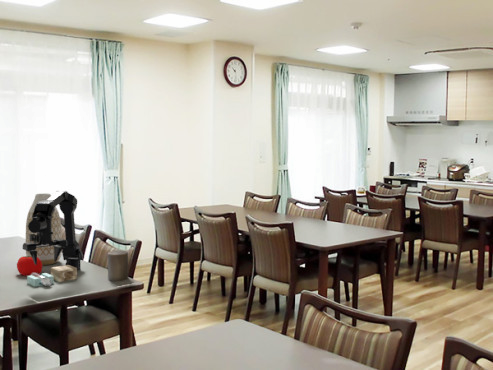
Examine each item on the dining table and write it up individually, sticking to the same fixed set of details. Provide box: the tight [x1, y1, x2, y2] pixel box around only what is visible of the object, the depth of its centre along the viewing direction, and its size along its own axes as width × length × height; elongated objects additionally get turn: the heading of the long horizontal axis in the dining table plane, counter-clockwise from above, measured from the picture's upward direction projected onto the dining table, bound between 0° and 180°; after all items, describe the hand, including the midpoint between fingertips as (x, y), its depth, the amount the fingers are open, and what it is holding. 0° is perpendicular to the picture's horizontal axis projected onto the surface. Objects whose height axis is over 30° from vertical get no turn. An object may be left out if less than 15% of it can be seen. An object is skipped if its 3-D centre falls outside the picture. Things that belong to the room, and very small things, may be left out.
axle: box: [31, 273, 52, 287], centre depth 255 cm, size 16×3×3 cm, turn 44°
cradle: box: [26, 272, 55, 288], centre depth 255 cm, size 9×8×4 cm
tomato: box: [16, 255, 43, 277], centre depth 271 cm, size 11×13×10 cm
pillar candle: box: [107, 250, 129, 282], centre depth 265 cm, size 10×10×15 cm
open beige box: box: [50, 265, 78, 283], centre depth 264 cm, size 9×9×6 cm
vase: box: [25, 193, 63, 266], centre depth 298 cm, size 19×19×38 cm
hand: (45, 263), depth 250 cm, fingers open, 9 cm apart
